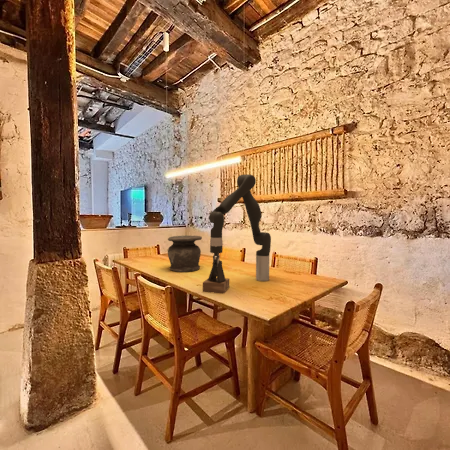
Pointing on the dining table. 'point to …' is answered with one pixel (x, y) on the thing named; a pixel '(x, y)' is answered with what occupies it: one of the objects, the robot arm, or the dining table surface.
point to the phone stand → (217, 274)
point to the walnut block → (216, 286)
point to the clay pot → (184, 253)
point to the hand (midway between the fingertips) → (216, 271)
